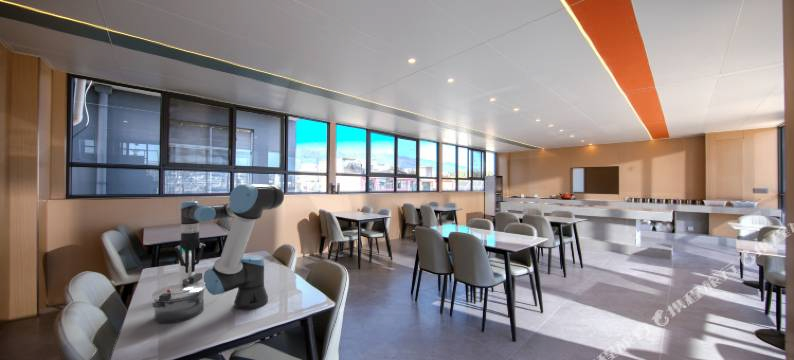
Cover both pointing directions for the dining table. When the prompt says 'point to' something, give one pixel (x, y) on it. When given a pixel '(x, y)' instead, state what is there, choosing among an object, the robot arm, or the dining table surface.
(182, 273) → the water bottle
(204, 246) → the robot arm
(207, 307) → the dining table surface
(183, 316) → the pot
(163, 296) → the lid
